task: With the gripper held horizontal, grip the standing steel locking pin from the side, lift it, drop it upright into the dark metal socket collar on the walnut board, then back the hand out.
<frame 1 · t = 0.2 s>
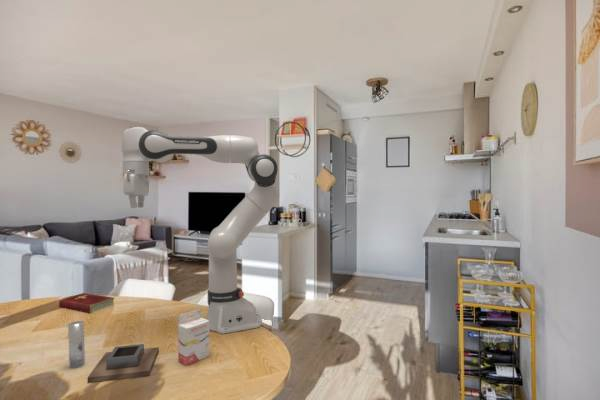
hand: (137, 207, 126), 47 cm above the table, tool pointing down, fingers open, 8 cm apart
steel pin: (77, 365, 104), on the table
socket collar: (126, 356, 103), on the socket board, point 2 cm above the table
hardcover book: (87, 307, 156), on the table
socket board: (126, 365, 103), on the table
ink cartridge box: (194, 359, 108), on the table
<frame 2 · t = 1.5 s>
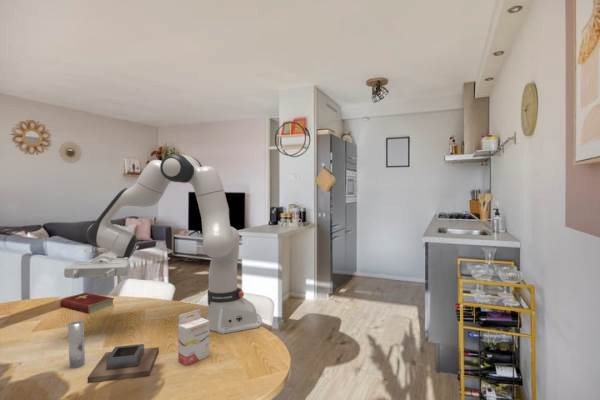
hand: (90, 275, 115), 25 cm above the table, tool horizontal, fingers open, 8 cm apart
nothing on the table moved.
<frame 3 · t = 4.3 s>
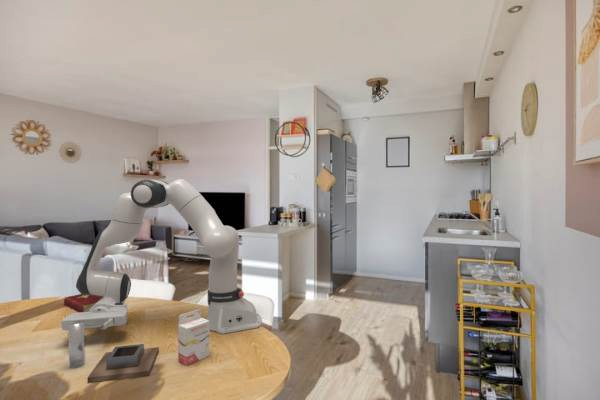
hand: (87, 328, 112), 8 cm above the table, tool horizontal, fingers open, 8 cm apart
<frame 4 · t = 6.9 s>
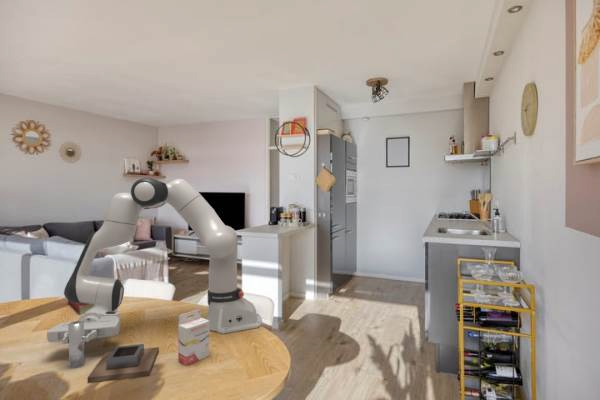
hand: (75, 340, 103), 8 cm above the table, tool horizontal, fingers closed on steel pin, 4 cm apart
steel pin: (77, 365, 104), on the table, touching gripper
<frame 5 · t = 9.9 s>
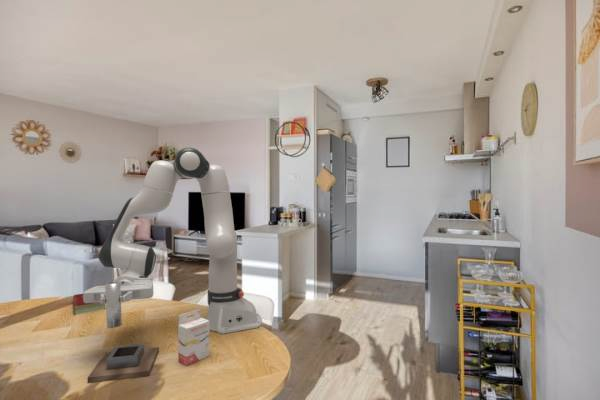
hand: (112, 300, 102), 21 cm above the table, tool horizontal, fingers closed on steel pin, 4 cm apart
steel pin: (114, 325, 103), point 12 cm above the table, touching gripper
when the fingers open (11 cm above the table, at t = 13.1 s): steel pin drops 1 cm, resting on socket board.
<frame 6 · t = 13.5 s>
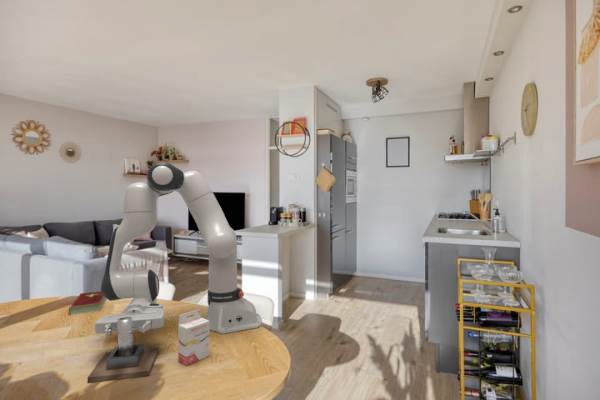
hand: (124, 331, 102), 11 cm above the table, tool horizontal, fingers open, 8 cm apart
steel pin: (126, 361, 103), point 2 cm above the table, touching socket board
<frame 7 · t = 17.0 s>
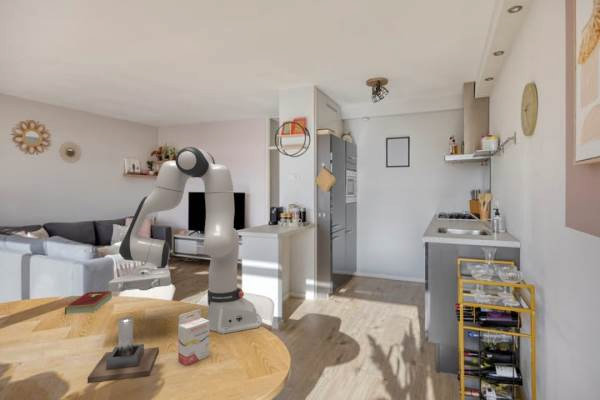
hand: (135, 287, 113), 21 cm above the table, tool horizontal, fingers open, 8 cm apart
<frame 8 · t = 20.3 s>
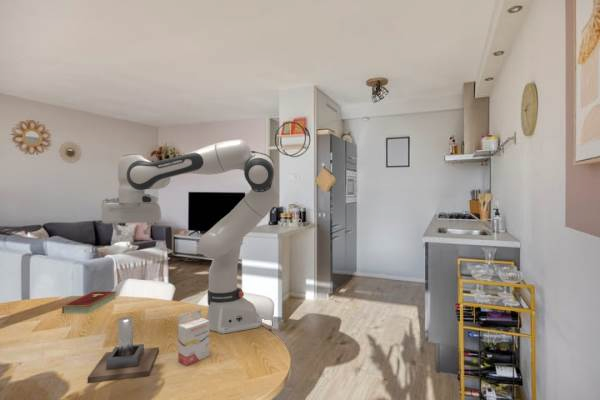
hand: (132, 234, 126), 37 cm above the table, tool pointing down, fingers open, 8 cm apart
at the end: steel pin 0.0 cm off-centre on the socket collar, point 1.5 cm above the socket collar's base; steel pin tilted 0°; the gripper is holding nothing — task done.
